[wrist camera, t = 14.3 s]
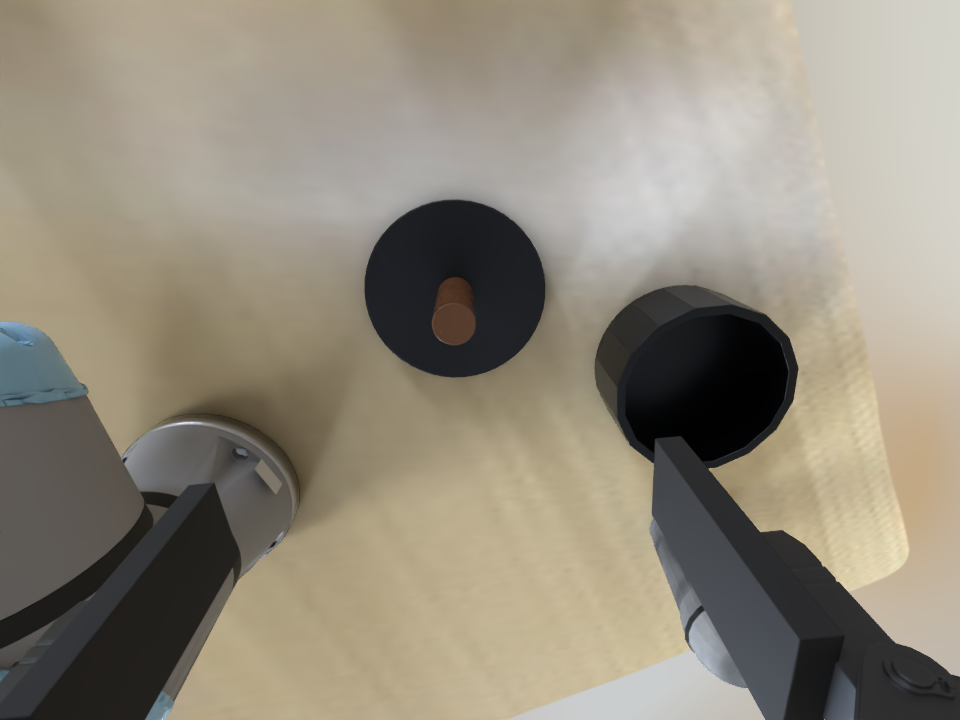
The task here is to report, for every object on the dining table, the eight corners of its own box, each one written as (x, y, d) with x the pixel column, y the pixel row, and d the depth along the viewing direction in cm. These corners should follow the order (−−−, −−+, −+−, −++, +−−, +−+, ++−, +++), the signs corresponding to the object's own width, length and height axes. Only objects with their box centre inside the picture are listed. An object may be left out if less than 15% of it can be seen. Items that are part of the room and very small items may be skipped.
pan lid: (382, 380, 42) (362, 433, 34) (351, 208, 37) (318, 220, 28) (546, 363, 42) (568, 412, 34) (538, 190, 37) (562, 196, 28)
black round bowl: (594, 436, 45) (615, 477, 39) (593, 293, 40) (617, 315, 34) (740, 421, 45) (784, 461, 39) (757, 277, 40) (810, 296, 34)
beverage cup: (721, 505, 48) (884, 717, 30) (689, 561, 51) (821, 789, 32) (653, 489, 47) (779, 698, 29) (624, 547, 50) (722, 774, 31)
